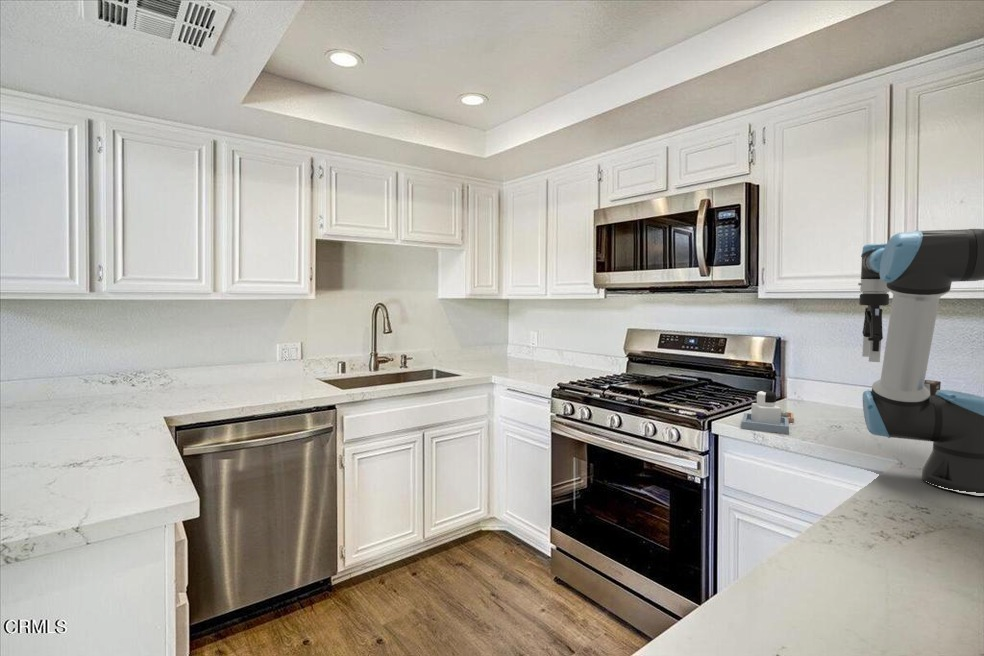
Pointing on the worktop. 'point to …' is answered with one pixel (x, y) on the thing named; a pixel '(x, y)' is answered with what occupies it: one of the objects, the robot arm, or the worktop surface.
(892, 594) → the worktop surface
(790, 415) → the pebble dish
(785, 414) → the pebble
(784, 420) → the grey bin
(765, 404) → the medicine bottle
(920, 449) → the worktop surface
